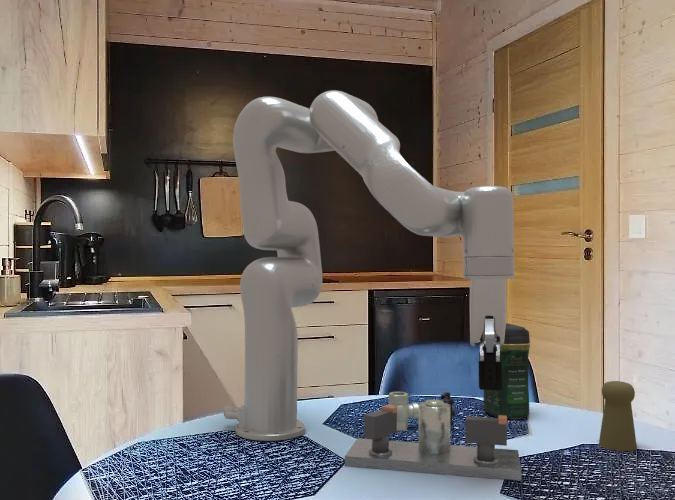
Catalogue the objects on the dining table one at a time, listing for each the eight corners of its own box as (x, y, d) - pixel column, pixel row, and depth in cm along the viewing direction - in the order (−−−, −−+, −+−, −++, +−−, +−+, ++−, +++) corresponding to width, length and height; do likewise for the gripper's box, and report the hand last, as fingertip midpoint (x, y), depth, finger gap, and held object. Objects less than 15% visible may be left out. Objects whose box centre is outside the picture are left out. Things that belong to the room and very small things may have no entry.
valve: (391, 434, 118) (454, 432, 120) (391, 397, 119) (455, 396, 120) (383, 424, 125) (443, 422, 127) (383, 390, 125) (444, 388, 127)
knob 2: (465, 460, 98) (465, 416, 98) (465, 454, 100) (466, 412, 100) (506, 463, 96) (507, 419, 96) (506, 458, 99) (506, 415, 99)
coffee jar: (536, 419, 130) (536, 325, 130) (499, 421, 128) (500, 326, 128) (511, 408, 139) (512, 320, 139) (477, 410, 137) (478, 321, 137)
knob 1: (376, 457, 99) (376, 414, 99) (362, 453, 100) (362, 411, 100) (398, 448, 103) (398, 407, 103) (384, 445, 105) (384, 404, 105)
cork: (637, 444, 113) (637, 380, 113) (637, 453, 108) (637, 386, 108) (599, 439, 116) (600, 377, 116) (597, 448, 110) (598, 383, 110)
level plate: (344, 465, 100) (345, 406, 100) (357, 447, 110) (357, 392, 110) (521, 480, 94) (521, 417, 94) (518, 459, 104) (518, 402, 104)
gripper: (464, 268, 108) (466, 373, 107) (460, 270, 91) (462, 394, 90) (512, 268, 106) (513, 374, 106) (516, 269, 89) (518, 395, 89)
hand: (490, 383), depth 98 cm, fingers open, 9 cm apart
